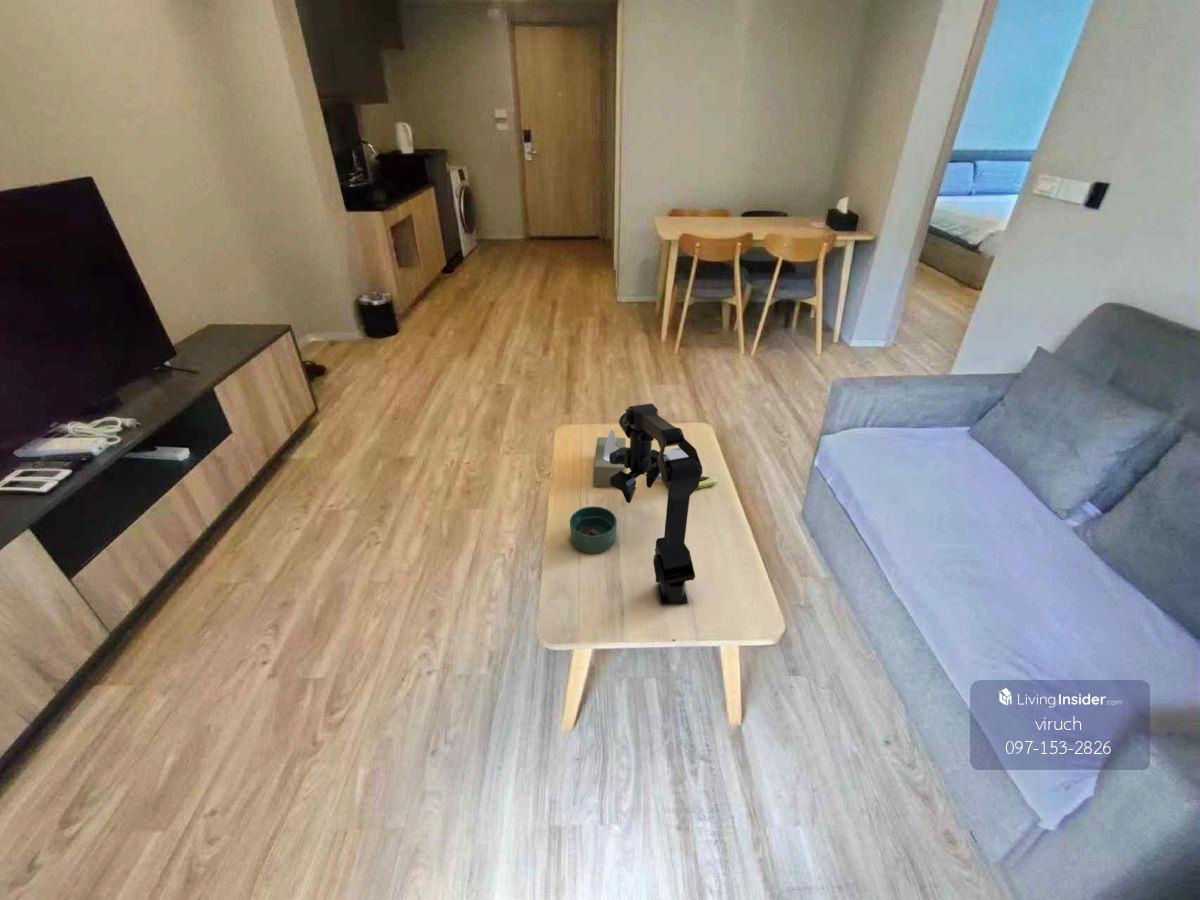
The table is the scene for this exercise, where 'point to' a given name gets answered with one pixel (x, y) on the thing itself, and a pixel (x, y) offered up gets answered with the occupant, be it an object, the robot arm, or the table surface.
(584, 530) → the spoon
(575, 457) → the table surface
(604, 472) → the tissue box
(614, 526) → the bucket
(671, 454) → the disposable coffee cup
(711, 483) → the yellow curved piece
